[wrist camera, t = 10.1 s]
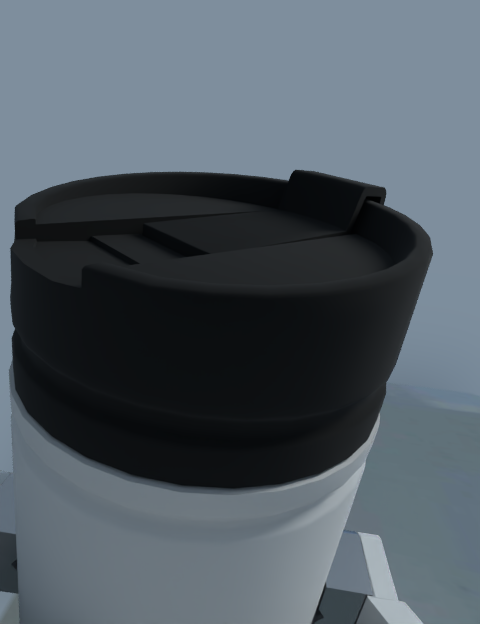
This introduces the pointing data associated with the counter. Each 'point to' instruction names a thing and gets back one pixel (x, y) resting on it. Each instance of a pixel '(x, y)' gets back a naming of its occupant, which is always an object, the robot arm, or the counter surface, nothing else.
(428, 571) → the counter surface
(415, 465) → the counter surface
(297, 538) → the travel mug
